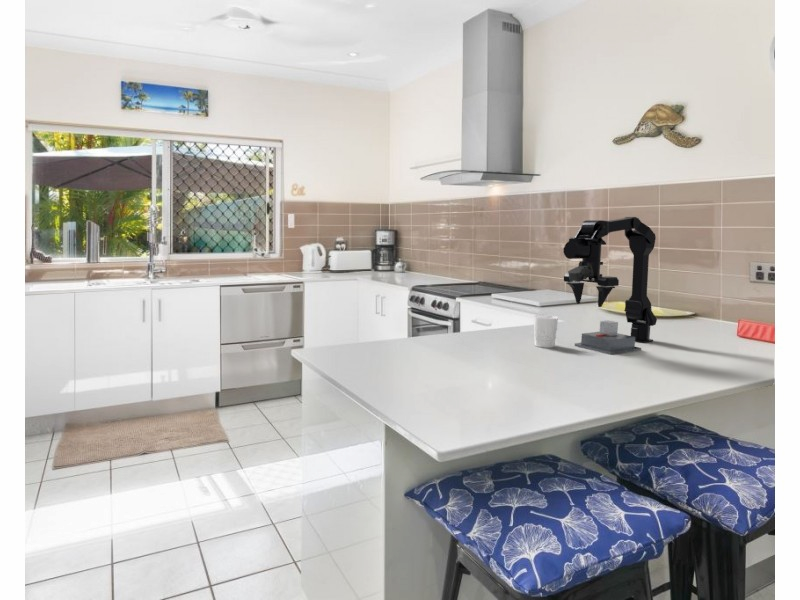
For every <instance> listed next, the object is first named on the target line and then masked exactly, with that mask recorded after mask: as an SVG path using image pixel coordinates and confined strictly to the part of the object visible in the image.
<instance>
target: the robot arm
mask: <svg viewBox="0 0 800 600" xmlns="http://www.w3.org/2000/svg"><path fill="white" fill-rule="evenodd" d="M620 231H624V237H626V239H627V240H628V246H629V249H630V251H631V254H632V255H633V262H632V263H633V264H632V279H631V280H632V281H631V282H632V283H631V285H632V286H631V296H630V297H629V298H628V299H626V300H625V302H624V304H625V305H624V306H625V307H624V312H625V318H626V322H627V323H631V328H630V336H633V337H635V342H639V343H647V342H648V343H649V342H653V341H654V339H652V338H650V335H651V327H653V326H655V325H657V321H658V320H657V317H656V316H655V314H654V312H653V311H652V309H653V308H652V303H651V301H650V298H649V297H648V277H649V259H650V254H651V253H652V252H653V250H654V249H655V244H656V240H657V239H656V233H654V231H653V230H652V229H651V227H649V226H648V225H647V224H646V223H644V222H642V220H640V218H639V217H636V216H625V217H623V218H616V219H611V220H609V219H608V220H602V219H601V220H599V219H598V220H597V219H594V220H593V219H592V220H590V219H588V220H584V221H583V222H582V224H581V226H580V227H579V229H578V231H577V233H576V234H575V236H574V237H569V238H568V241H567V242H566V243H565V244H564V247H563V255H564V257H566V259H569V260H575V259H576V260H578V259H579V260H580V259H581V260H580V261H579V262H578V266H576V267H574V268H572V269H570V270H568V271H567V272H566V273H565V274H564V275H563V282H566V285H568V286H570V287H571V290H572V292H573V295H574V299H575V302H576V304H577V305H579V304H580V303H581V301H582V295H583V292H584V287H585V282H587V283H592V284H593V283H595V284H597V285H598V286H595V287H596V290H597V291H598V294H597V296H598V297H597V305H598V308H602V307H603V305H604V303H605V301H606V300H607V298H608V296H609V295H610V293H611V292H612V290H614V289H615V288H616V287H618V286H619V283H620V281H619V279H618V277H617V276H606V275H605V276H603V274H602V273H601V266H603V265H604V262H603V261H601V258H602V257H601V256H602V245H603V246H605V245H607V242H606V241H605V240H604V239H603V238H604V237H606V236H608V235H609V234H610V233H612V232H620Z"/></svg>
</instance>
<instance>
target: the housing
mask: <svg viewBox="0 0 800 600" xmlns="http://www.w3.org/2000/svg"><path fill="white" fill-rule="evenodd" d="M599 332H600V331H595V332H592V331H591V332H585V333H581V339H580V340H581V342H577V343H574V347H578V348H582V349H585V350H591V351H595V352H598V353H602V354H607V355H610V356H611V355H616V354H625V353H632V352H639V351H642V347H638V346H635V345H636V341H635V337H633V336H631V335H627V334H623V333H619V332H617V336H615V337H606V336H604V334H599Z"/></svg>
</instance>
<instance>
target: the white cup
mask: <svg viewBox="0 0 800 600" xmlns="http://www.w3.org/2000/svg"><path fill="white" fill-rule="evenodd" d="M558 320H559V317H558V316H556V315H547V314H546V315H544V314H539V315H538V314H537V315H534V316H533V334H534V335H533V338H534V346H536V347H538V348H544V349H545V348H547V349H551V348H554V347H556V339H557V331H558V324H559V323H558V322H559V321H558Z"/></svg>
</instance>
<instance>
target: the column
mask: <svg viewBox="0 0 800 600" xmlns="http://www.w3.org/2000/svg"><path fill="white" fill-rule="evenodd" d="M618 328H619V322H618V321H615V320H614V321H613V320H610V319H609V320H600V321H599V331H598V332H599V334H604V336H606V337H615V336H617V333H618V330H619V329H618Z"/></svg>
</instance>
